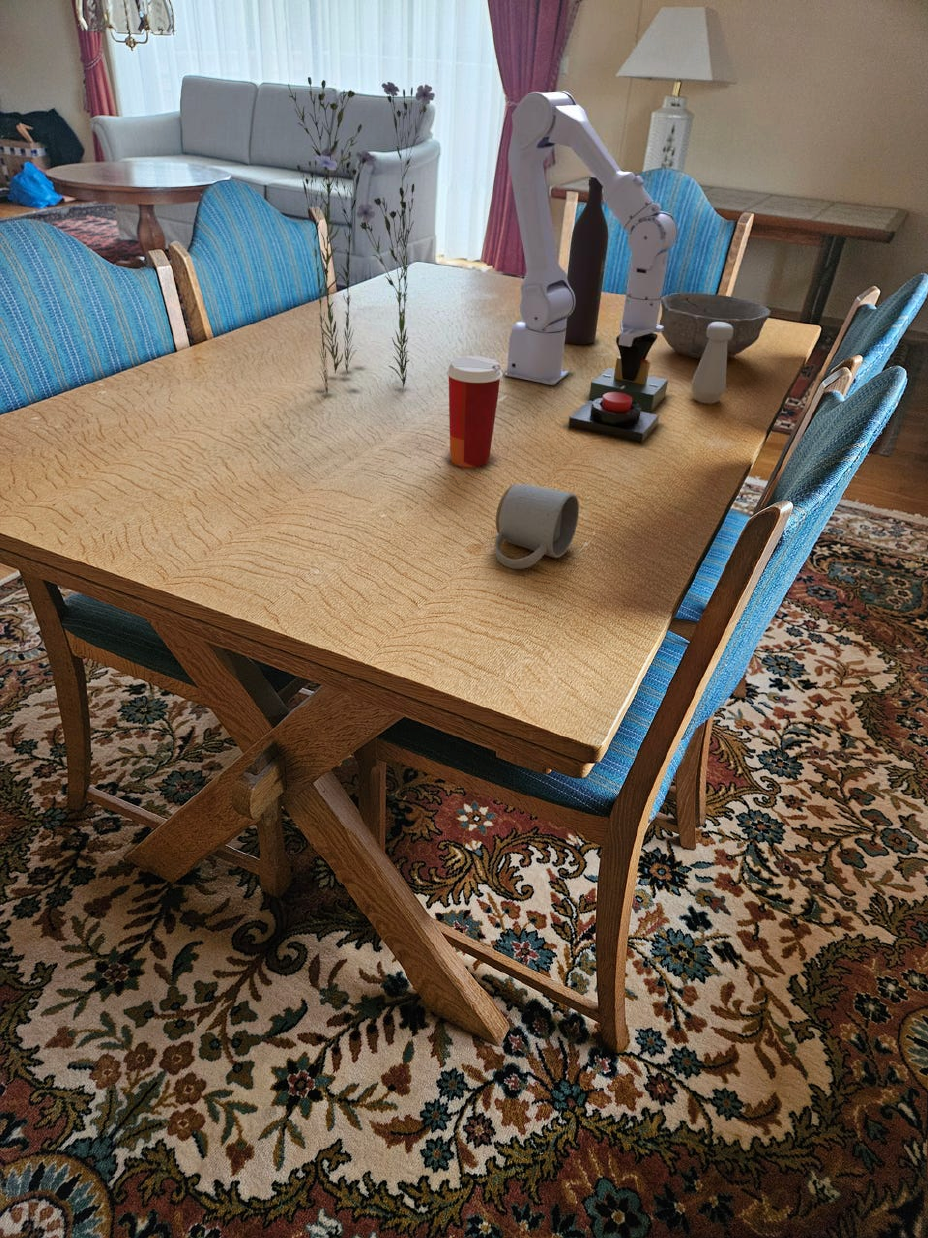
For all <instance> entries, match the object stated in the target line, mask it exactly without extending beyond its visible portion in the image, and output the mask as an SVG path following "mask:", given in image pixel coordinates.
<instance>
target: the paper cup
mask: <svg viewBox="0 0 928 1238" xmlns="http://www.w3.org/2000/svg"><path fill="white" fill-rule="evenodd" d="M447 366H448V367H447V368H446V369H445V374H446V375H447V376H448V406H449V407H448V419H449V423H448V424H449V454H450V456H449V457H450V461H451V462H452V463H453V464H455V465H457V466H459V467H463V468H481V467H483V466H486V465H487V464H488V463H489V460H490V455H491V449H492V442H493V435H494V427H495V421H496V412H497V405H498V400H499V390H500V382H501V379H502V378H503V375H504V374H503V372H502V370H501V365H500V363H499V362H498V361H497V360H495V359H492V358H489V357H485V356H478V355H466V356H465V355H464V356H460V357H456V358H453V359H452V360H451V361H450V363H448V365H447Z"/></svg>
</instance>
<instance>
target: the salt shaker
mask: <svg viewBox="0 0 928 1238" xmlns="http://www.w3.org/2000/svg"><path fill="white" fill-rule="evenodd" d="M706 335H707V337H708V338H709V340H708V343H707V346H706V348H705V351H704V353H703V356H702V358H701V359H700V361H699V364H698V366H697V368H696V371H695V373H694V376H693V378H692V380H691V385H690V387H691V393H692V398H693V400H695V401H697V402H699V403H700V404H710V405H713V404H715V403H717V402H719V400H720V399H721V397H722V396H723V395H724V394H725V391H726V383H727V362H728V361H727V360H728V357H727V342H728V340H730V339H731V338H732V335H733V327H732V326H731V325H730V324H728V323H724V322H713V323H711V324H709V325H708V328H707V332H706Z"/></svg>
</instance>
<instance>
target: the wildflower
mask: <svg viewBox="0 0 928 1238" xmlns="http://www.w3.org/2000/svg"><path fill="white" fill-rule="evenodd" d="M307 82H308V85H309V87H310V88H312V85H313V83H312V77H310V76H308V77H307ZM326 83H327V82H326V80H324V79H322V81H321V88H322V93H318V96H317V95H316V93H314V98H313V97H312V96H313V92H312V90H309V95H310V100H311V102H312V104H313V112H314V116H313V115H312V113H310V112H308V113H309V115H310V117H311V119H312V121H313V123H314V125H315V127H316V130H317V135H318V140H319V141H321V140H322V136H323V132H324V129H325V131H326V133H327V134H328V137H329V138H328V139H329V147H326V148H324V149H323V150H322V149H319V148H318V146H317V145H316V143H315V141H314V139H313V136H312V135H311V133H310V132H309V129H308V127H307V125H306V122H305V105H303V108H302V112H301V110H300V108H299V107H298V104H297V94H296V92H297V91H294V95H293V93H292V90H291V87H290V84H289V83H288V85H287V86H288V87H287V88H288V89H289V93H290V94H289V95H288V97H289V98H292V100H293V102H294V103H295V106H296V107H297V110H298V111H297V110H296V108H294V111H295V113H296V115H297V116H298V117H299V119H300V121H302V123H303V124H304V125H303V124H302V123H300V122H297V125H300V126H301V127H303V129H304V131H305V133H306V134H308V135H309V137H310V138H311V140H312V142H313V145H314V146H315V147H314V146H313V145H311V147H312V149H313V150H314V151H315V153H316V154H315V153H313V155H314V166H315V167H314V168H315V169H317V167H319V168H321V169H325V170H324V172H325V175H323V177H322V180H321V181H320V182H321V185H322V187H323V189H322V187H321V185H319V187H320V188H319V189H321V191H320V197H321V199H320V202H321V204H320V206H319V211H318V212H319V213H318V214H320V213H321V209H322V206H323V204H324V205H325V206H324V221H325V224H326V232H327V233H326V234H327V235H326V241H325V237H324V235H323V233H322V232H320V234H321V237H322V240H323V241H322V242H323V248H324V250H325V251H326V256H325V254H324V251H323V250H322V249H320V247H317V248H318V250H317V248H316V246H314V247H313V254H314V257H315V263H316V272H317V273H316V275H317V276H316V277H317V285H318V286H317V287H318V294H319V296H318V303H319V308H320V309H319V310H320V312H318V315H319V322H320V324H319V326H320V328H321V329H320V330H321V344H319V346H320V347H318V353H319V357H320V361H321V363H322V366H320V368H321V371H322V374H321V372H320V371H319V370H317V371H318V373H319V375H320V377H321V379H322V383H323V385H324V388H325V393H326V395H325V396H328V391H329V390H328V389H329V384H328V383H329V382H328V372H327V370H324V369H325V368H326V363H327V361H328V359H327V350H328V351H329V353H330V355H331V358H332V360H333V367H334V375H336V374H337V370H338V367H339V365H340V363H341V362H342V361H343V357H345V360H344V365H345V371H346V373H347V374H348V373H349V372H348V371H349V369H348V368H349V365H350V362H351V360H352V358H353V355H354V354H355V352H356V351H357V349H355V350H354V352H353V353H351V350H352V349H353V346H354V344H351V343H352V338H353V335H354V331H355V330H354V329H353V330H352V326H350V319H349V317H350V303H351V300H350V299H351V298H352V297H351V295H350V294H349V290H350V289H349V288H350V277H351V276H350V275H351V274H350V249H351V248H350V247H351V241H352V237H353V236H352V234H353V233H352V232H351V223H352V219H350V218H349V216H348V213H347V211H348V209H347V207H345V205H344V202H343V199H342V196H341V194H340V190H339V176H337V177H336V174H337V172H338V170H339V169H340V167H342V171H343V173H345V168H346V173H347V174H346V175H345V179H347V177H348V176H349V177H348V178H349V179H351V173H352V175H353V176H355V175H356V174H357V175H356V178H353V179H352V186H354V185H355V192H354V194H356V193H357V188H358V185H359V183H360V182H359V181H360V176H361V170H362V168H363V165H364V164H366V165H367V166H368V167H370V166H374V165H375V163H377V159H376V157H375V156H373V155H371V153H370V152H368V151H366V150H365V151H364V150H362V151H361V152H360V151H357V152H355V157H357V158H358V161H359V162H358V164H357V167H358V170H359V172H358V170H356V169H355V168H354V169H351V171H350V170H349V169H350V165H351V161H348V162H347V160H350V159H351V157H353V156H354V154H352V151H350V148H351V147H353V146H354V145H355V144H357V143H358V142H359V140H357V141H355V139H356V137H358V136H357V135H358V134H359V133H360V132H361V131H362V129H363V125H362V123H360V124H359V125H358V127H357V129H356V130H357V133H356V134H355V135H353V136H352V137H350V138H349V139H348V140H346V141H347V142H346V143H345V145H344V148H341V149H340V153H341V154H340V155H341V157H340V162H339V165H338V161H337V158H335V159H334V160H332V156H335V155H337V153H338V152H339V150H338V149H339V147H338V144H339V141H340V138H339V139H337V135H338V131H339V128H340V126H341V123H342V121H343V118H344V110H345V109H346V106H347V104H348V101H349V99H351V98H353V97H354V96H355V95H356V93H355V91H353V90H352V89H350V90H348V92H347V93H346V91H345V89H343V93H342V95H340V103H341V109H340V110H339V112H338V114H337V116H336V117H337V127H336V131H335V135H334V141H333V145H332V141H331V134H332V130H333V125H334V113H335V111H336V110H337V109H338V107H339V104H337V103H335V102H332V103H330V101H328V103H327V104H326V106H325V101H324V99H325V96H326V94H325V91H324V90H325V87H326V85H327V84H326ZM334 85H336V86H337V84H336V83H335V84H334ZM381 88H382V89H383V92H384V93H385V94H386V95H387V101H388V103H390V105H391V107H393V108H391V110H392V114H393V123H394V127H395V133H396V134H398V126H399V127H401V120H400V117H402V128H404V126H405V125H404V123H405V118H406V119H408V120H409V121H408V123H409V124H410V123H411V113H412V109H408V102H406V99H405V98H406V90H405V88H403V89H402V95H403V99H404V100H403V107H404V111H403V110H402V109H401V110H397V111H396V106H395V100H394V98H395V97H397V96H398V95H399V94H398V93H400V88H399V87H398V86H396V85H395V84H394V83H393V82H391V81H387V83H385V82H384V83H381ZM416 91H417V92H415V95H414V96H415V100H416V101H421V104H422V106H421V108H420V110H419V116H418V121H417V119H416V118H414V123H415V126H414V132H415V133H414V137H413V142H412V145H411V148H410V151H409V154H407V153H408V152H406V154H405V155H406V156H405V157H406V158H405V159H406V162H405V165H404V170H403V169H402V165H403V164H400V170H401V173H403V174H402V176H401V182H402V183H401V185H400V188H399V195H400V198H401V201H400V202H399V204H400V206H401V212H399V210H398V209H396V211H395V210H392V211H390V212H389V216H390V218H392V220H393V228H394V237H395V242H396V250H399V249H398V247H399V244H400V250H401V252H400V251H398V253H399V256H400V259H401V263H402V266H401V263H400V262H399V260H398V255H396V254H395V249H394V244H393V241H392V235H391V222H390V221H389V219H388V216H387V215H385V214H387V210H388V203H387V202H385V197H382V200H381V198H380V197H379V196H377V198H374V200H373V202H374V204H376V206H379V208H380V210H381V212H382V213H381V214H382V215H383V217H384V225H385V228H386V230H387V232H388V236H389V239H390V244H391V248H389V250H390V255H391V256H392V258H393V260H394V261H395V263H396V271H397V281H398V290H397V287H396V286H395V284H394V281H393V279H392V278H391V275H390V274H389V272H388V270H387V267H386V265H385V263H384V261H383V259H382V256H381V254H380V246H381V245H380V235H379V236H378V241H377V243H376V240H375V237H374V235H373V226H370V225H369V223H370V222H372V221H371V219H374V218H375V215H376V212H375V211H374V210H373V208H374V207H373V205H372V204H369V203H367V202H366V203H365V204H364V203H360V204H359V205H358V207H357V211H356V217H357V218H358V219H362V222H360V224H359V226H360V228H361V229H362V230H365V232H366V234H367V238H368V239H369V241H370V243H371V244H372V247H373V248H374V250H375V251H376V252H377V254H378V255H379V256H377V255H376V254H373V257H376V259H378V261H379V262H380V264H381V265H383V267H384V270H385V272H386V273H387V275H388V276H384V278H386V279H387V281H388V283H389V285H390V286H391V287H393V288H394V290H395V293H396V294H395V296H396V300H397V303H398V316H399V318H398V328H399V332H397V330H396V329H394V331H395V335H396V338H397V342H398V344H399V346H398V345H397V343H396V342H395V340H394V338H393V337H391V340H392V342H393V345H394V349H395V351H396V353H397V354H398V357H399V360H398V358H396V357H395V356H393V358H394V359H395V361H396V363H397V364H398V366H399V370H397V369H396V368H395V367H393V366H391V365H388V368H391V369H392V370H394V371H395V372H396V374H397V375H398V376H399V378H400V380H401V382H402V388H404V387H405V385H406V380H407V372H408V369H407V368H406V367H407V363H408V362H409V361H410V359H407V357H408V352H409V350H406V349H407V344H408V340H409V336H407V330H408V327H406V328H405V326H406V325H405V324H406V318H405V314H406V303H407V299H408V297H407V296H408V295H407V294H408V292H407V288H408V283H407V278H408V277H407V276H408V267H409V266H410V265H412V262H410V263H408V255H407V254H408V252H409V251H408V252H407V246H408V241H409V234H410V232H411V230H412V227H413V224H414V222H415V220H413V221H412V222H411V224H410V221H411V212H412V209H413V205H414V203H413V202H414V198H411V201H408V203H407V201H404V198H405V196H406V194H407V192H408V187H409V184H408V183H406V191H405V190H404V178H405V176H406V174H407V172H408V170H409V168H410V166H411V164H410V161H411V159H412V157H413V156H412V155H411V153H412V149H413V146H414V145H415V143H416V139H418V138H419V137H420V135H418V136H416V135H417V133H418V132H419V129H420V126H421V123H422V121H423V116H424V114H425V113H426V112H427V110H428V108H427V107H426V105H430V103H431V101H434V99H435V98H436V97H435V96H436V94H435V93H434V92H432V91H433V87H432V86H430V85H428V84H424V86H423V84H422V85H419V86H418V87H417V88H416ZM413 92H414V90H413V87H411V88H410V98H412V97H413ZM316 96H317V99H318V102H319V105H318V112H320V109H321V108H322V109H323V110H324V118H325V123H326V126H325V124H324V122H321V124H322V126H321V131H320V132H321V133H320V132H319V126H318V124H319V120H320V118H317V117H316V105H315V104H316ZM346 97H347V99H345V98H346ZM313 99H314V100H313ZM344 100H346V101H345V105H344ZM322 101H323V102H322ZM412 104H413V101H410V108H413V107H412V106H413V105H412ZM328 106H329V107H330V109H331V110H332V115H331V127H330V129H329V125H328V120H327V108H328ZM395 111H396V113H395ZM298 112H299V113H298ZM407 112H408V113H407ZM407 114H408V115H409V118H408V115H407ZM396 115H397V117H398V119H397V117H396ZM401 115H402V116H401ZM421 115H422V116H421ZM317 119H318V120H317ZM397 120H398V121H399V122H398V121H397ZM419 122H420V123H419ZM398 123H399V125H398ZM417 123H419V124H417ZM412 127H413V124H411V125H410V127H409V129H406V130H407V131H402V132H401V133H402V134H401V133H399V135H396V140H399V136H400V142H397V145H396V151H397V154H398V157H399V159H400V160H402V154H401V151H400V149H402V146H403V140H404V141H405V149H406V150H408V145H409V144H408V143H409V140H407V138H409V137H410V133H411V130H412ZM329 130H330V131H329ZM406 132H407V136H406ZM415 137H416V138H415ZM349 141H350V144H349V147H348V143H349ZM354 141H355V142H354ZM321 143H322V142H319V146H320V148H322V144H321ZM399 143H400V144H399ZM347 147H348V149H347ZM345 150H346V152H345ZM344 153H345V154H344ZM347 155H348V156H347ZM407 155H408V158H407ZM345 162H346V163H345ZM374 162H375V163H374ZM308 165H309V169H310V171H309V173H310V174H309V175H310V178H305V179H304V177H305V173H304V171H303V167H302V166H300V164H297V165H296V168H297V170H298V171H299V173H300V176H301V180H302V185H303V191H304V194H305V198H306V202H307V203H309V204H310V205H309V204H307V207H308V208H307V209H308V210H307V213H308V216H309V219H310V222H311V227H312V228H314V226H313V217H312V216H313V211H312V206H313V207H314V212H315V213H317V209H316V204H314V202H317V201H318V197H317V196H318V195H319V194H318V193H319V189H318V190H317V191H313V189H312V187H315V185H317V178H314V177H316V173H317V172H318V170H315V173H314V172H313V171H312V167H311V166H312V162H311V161H308ZM332 172H333V173H332ZM357 172H358V173H357ZM330 173H331V177H332V179H331V181H330ZM304 180H305V181H304ZM340 181H341V183H342V188H343V190H344V192H346V193H344V197H345V201H347V198H348V195H349V194H350V202H351V209H350V215H352V212H353V209H354V207H355V206H356V201H357V198H356V195H354V197H352V196H353V191H354V188H352V186H351V185H349V187H347V190H346V186H347V184H344V181H343V180H342V179H340ZM314 183H315V185H314ZM333 183H335V186H336V188H337V189H336V188H333V187H334V185H333ZM354 183H355V184H354ZM309 184H310V189H311V190H310V189H309V188H307V187H306V185H307V186H309ZM312 185H313V186H312ZM332 189H333V190H335V191H336V192H337V195H338V196H339V198H340V200H341V202H342V203H341V204H342V205H340V207H341V208H342V211H343V212H342V215H343V216H344V219H345V221H346V223H347V225H348V235H347V233H346V229H344V230H343V231H344V237H345V238H346V240H347V242H348V250H347V249H345V252H346V254H347V255H346V257H347V258H346V261H345V265H346V269H345V267H344V266H343V264H342V263H339V265H340V267H341V268H342V270H343V272H344V275H345V277H344V276H343V275H342V274H341V273H340V272H339V271H336V273H337V274H338V275H336V277H335V279H334V281H333V282H332V283H331V284H329V286H328V281H329V280H328V279H329V278H328V273H329V270H328V269H329V263H330V260H331V258H332V256H333V254H334V252H335V251H337V249H338V248H339V246H336V247H335V248H333V249H332V251H331V252H330V253H329V244H330V242H331V241H332V240H333V239H334V238H335V237H336V236H337V235H338V233H339V230H340V227H341V226H339V227H338V228H337V229H336V231H335V233H334V234H333V235H332V233H333V230H334V225H335V222H336V220H334V221H333V222H332V224H331V225H330V226H329V224H330V220H331V210H330V205H331V203H330V201H331V199H330V197H331V193H332ZM309 190H310V191H311V194H310V196H308V193H310V191H309ZM325 190H326V192H327V202H326V201H325V199H324V195H325V192H324V191H325ZM307 191H308V193H307ZM414 191H415V183H412V184H411V190H410V192H411V195H413V194H414ZM313 192H314V194H313ZM313 195H314V196H313ZM315 195H316V196H315ZM312 196H313V197H312ZM308 197H309V198H308ZM310 198H311V199H310ZM314 198H315V199H314ZM308 199H309V200H310V202H309V200H308ZM410 202H411V207H410V206H408V212H409V215H408V217H409V218H408V225H410V227H408V226H406V222H405V220H407V217H406V210H407V204H408V205H410ZM381 204H382V205H383V207H382V206H381ZM383 208H384V211H383ZM384 212H385V214H384ZM397 214H398V217H399V229H398V230H396V223H395V222H396V221H395V218H396V217H397ZM319 217H320V215H318V218H317V219H318V220H316V226H315V229H316V231H315V232H314V231H312V233H313V234H312V235H314V237H313V240H314V241H316V239H317V236H318V233H319V229H320V227H321V226H319V224H320V221H321V219H319ZM349 219H350V220H349ZM401 225H402V228H401ZM329 227H330V228H329ZM367 229H368V230H369V232H370V234H371V237H372V239H373V241H374V243H373V241H372V239H371V237H370V235H369V233H368V230H367ZM396 231H397V233H396ZM331 235H332V236H331ZM329 238H330V239H329ZM374 244H375V245H374ZM319 251H320V252H321V256H322V259H323V260H322V268H323V273H324V277H325V280H324V281H323V282H322V284H321V277H320V271H319V270H320V266H318V255H319ZM401 253H402V254H401ZM398 265H399V268H400V270H401V273H400V276H399V270H398ZM339 276H341V278H342V279H343V280H344V283H345V285H346V292H347V297H346V298H345V294H344V293H343V299H344V301H345V302H346V305H347V311H346V310H344V313H345V315H346V316H345V329H344V337H343V339H344V343H345V345H344V346H343V347H344V354H343V352H342V353H341V357H339V356H338V350H339V347H338V346H339V342H337V335H338V332H339V330H337V331H336V329H337V321H336V320H334V313H333V308H332V307H333V305H334V303H335V301H334V300H333V301H332V302H331V303H330V301H329V300H330V299H329V298H330V297H329V296H330V288H332V286H333V285H335V284H336V283H337V281H338V279H339ZM388 277H389V278H388ZM345 278H346V279H345ZM402 279H403V280H404V282H403V283H404V284H403V285H404V292H403V293H402V291H401V289H402V286H401V280H402ZM322 291H323V292H322ZM322 293H323V294H322ZM324 296H325V297H326V300H327V301H326V303H327V305H326V307H327V318H328V322H329V325H328V323H327V322H326V320H325V314H326V311H324V312H323V316H322V301H323V299H324ZM402 299H403V303H404V304H403V306H404V307H403V306H401V305H402V304H401V303H402V302H401V301H402ZM401 310H402V311H401ZM333 320H334V321H333ZM323 322H324V324H325V327H326V330H327V332H328V333H329V334H330V335H329V334H328V333H327V332H326V331H325V329H324V328H323ZM333 322H334V323H333ZM332 324H333V327H332ZM349 326H350V327H349ZM335 333H336V334H335ZM327 337H328V338H329V339H328V338H327ZM324 338H326V340H327V342H328V344H329V346H330V347H329V346H328V344H327V343H325V341H324ZM330 341H331V342H330ZM321 345H322V346H321ZM350 346H351V347H350ZM325 347H326V348H325ZM319 348H320V349H321V350H320V349H319ZM398 350H399V351H398ZM350 353H351V354H352V355H351V354H350ZM350 355H351V356H350ZM349 357H350V358H349ZM339 358H340V359H339ZM399 371H400V373H399ZM352 374H353V373H352ZM323 378H324V379H323Z"/></svg>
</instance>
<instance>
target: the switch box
mask: <svg viewBox="0 0 928 1238" xmlns="http://www.w3.org/2000/svg"><path fill="white" fill-rule="evenodd" d="M602 399H603V398H598V399H595V400H587V401H586V402H585V403H584V404H583V405H581V407H580V408H578V409H577V410H576V411H575V412H574V413H573V414H571V416H570V417H569V418H568V419H569V420H568V428H569V429H574V430H579V431H583V432H587V433H591V434H596V435H601V436H605V437H609V438H614V439H619V440H623V441H627V442H632V443H637V444H643V442H644V441H645V440H646V439H647V438H648V437H649V435H650V434H651V433H652V432H653V431H654V429H656V427H657V426H658V423H659V417H660V415H659V414H656V413H652V412H647V411H642V410H641V407H640V406H639V404H638V403H635V402H633V401H632V405H631V410H629V411H612V410H607V409H605V408H603V407H602Z"/></svg>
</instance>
